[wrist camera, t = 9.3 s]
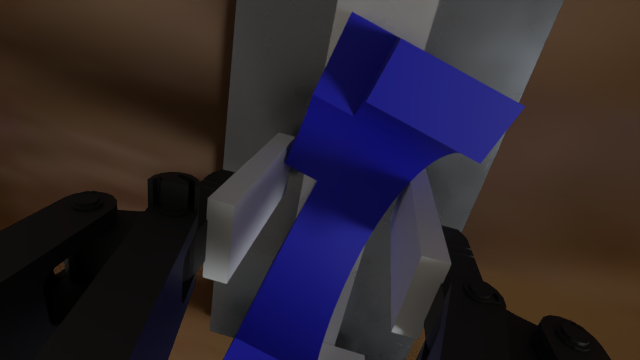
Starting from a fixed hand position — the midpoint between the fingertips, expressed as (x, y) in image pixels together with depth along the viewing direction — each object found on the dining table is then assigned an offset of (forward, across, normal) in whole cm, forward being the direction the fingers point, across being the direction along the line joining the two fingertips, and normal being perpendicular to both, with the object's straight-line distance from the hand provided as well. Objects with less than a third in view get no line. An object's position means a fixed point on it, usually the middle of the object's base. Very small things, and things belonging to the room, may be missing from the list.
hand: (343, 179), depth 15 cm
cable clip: (0, 0, 0) cm, 0 cm away
